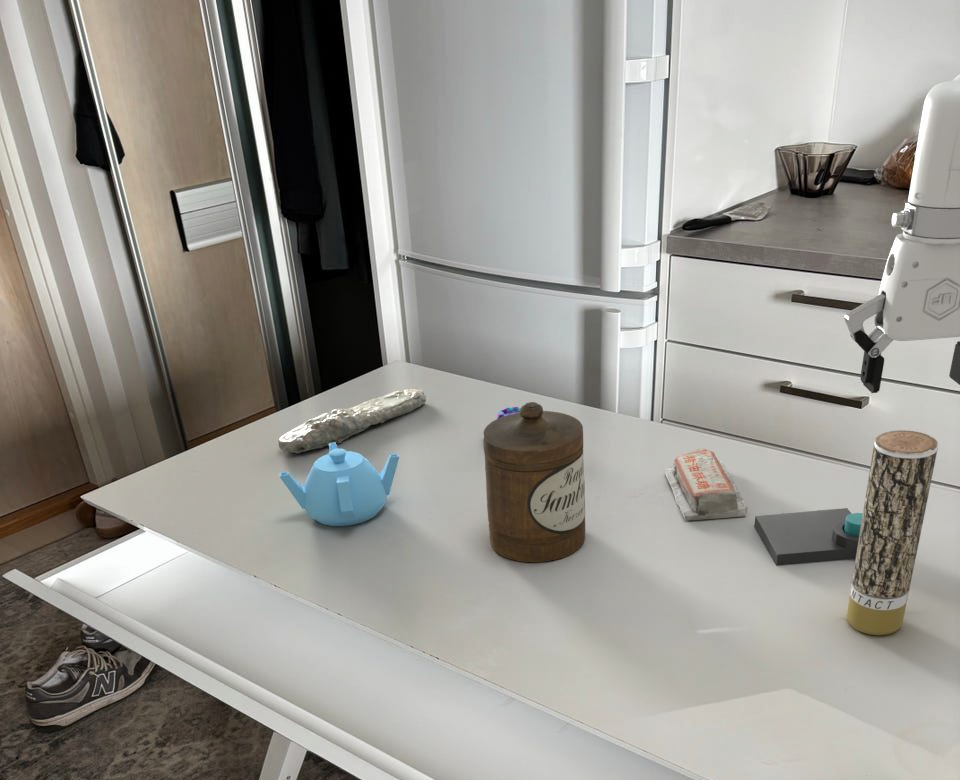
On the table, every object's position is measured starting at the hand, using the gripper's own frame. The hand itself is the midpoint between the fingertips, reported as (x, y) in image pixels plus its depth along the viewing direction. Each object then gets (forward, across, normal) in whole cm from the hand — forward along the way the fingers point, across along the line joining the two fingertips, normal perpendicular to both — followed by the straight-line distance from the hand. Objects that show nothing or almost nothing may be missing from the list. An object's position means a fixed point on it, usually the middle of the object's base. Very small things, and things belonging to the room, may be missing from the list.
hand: (914, 385), depth 108 cm
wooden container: (+32, -40, +30) cm, 60 cm away
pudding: (+32, -41, +70) cm, 88 cm away
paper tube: (+32, +1, 0) cm, 32 cm away
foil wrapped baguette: (+32, -72, +83) cm, 114 cm away
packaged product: (+32, -12, +40) cm, 53 cm away
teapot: (+32, -71, +46) cm, 91 cm away
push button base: (+32, 0, +22) cm, 39 cm away
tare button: (+29, +5, +19) cm, 34 cm away
